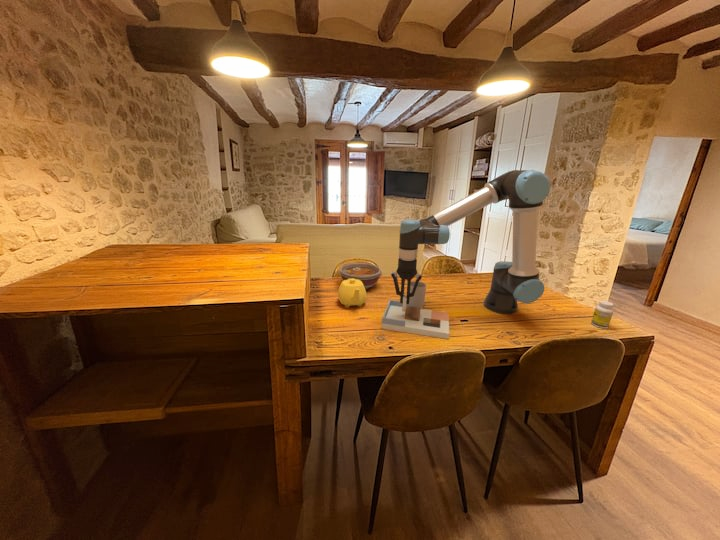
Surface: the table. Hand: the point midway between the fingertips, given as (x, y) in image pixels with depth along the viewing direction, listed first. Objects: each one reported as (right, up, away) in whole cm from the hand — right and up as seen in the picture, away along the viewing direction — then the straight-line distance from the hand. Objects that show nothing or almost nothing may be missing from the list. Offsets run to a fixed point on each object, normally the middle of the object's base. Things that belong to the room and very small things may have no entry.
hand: (404, 310), depth 130 cm
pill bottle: (+87, -7, +3) cm, 87 cm away
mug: (+8, +1, +19) cm, 21 cm away
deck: (+5, -6, 0) cm, 7 cm away
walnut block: (+3, -3, 0) cm, 5 cm away
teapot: (-23, 0, +16) cm, 28 cm away
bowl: (-19, +8, +40) cm, 45 cm away
